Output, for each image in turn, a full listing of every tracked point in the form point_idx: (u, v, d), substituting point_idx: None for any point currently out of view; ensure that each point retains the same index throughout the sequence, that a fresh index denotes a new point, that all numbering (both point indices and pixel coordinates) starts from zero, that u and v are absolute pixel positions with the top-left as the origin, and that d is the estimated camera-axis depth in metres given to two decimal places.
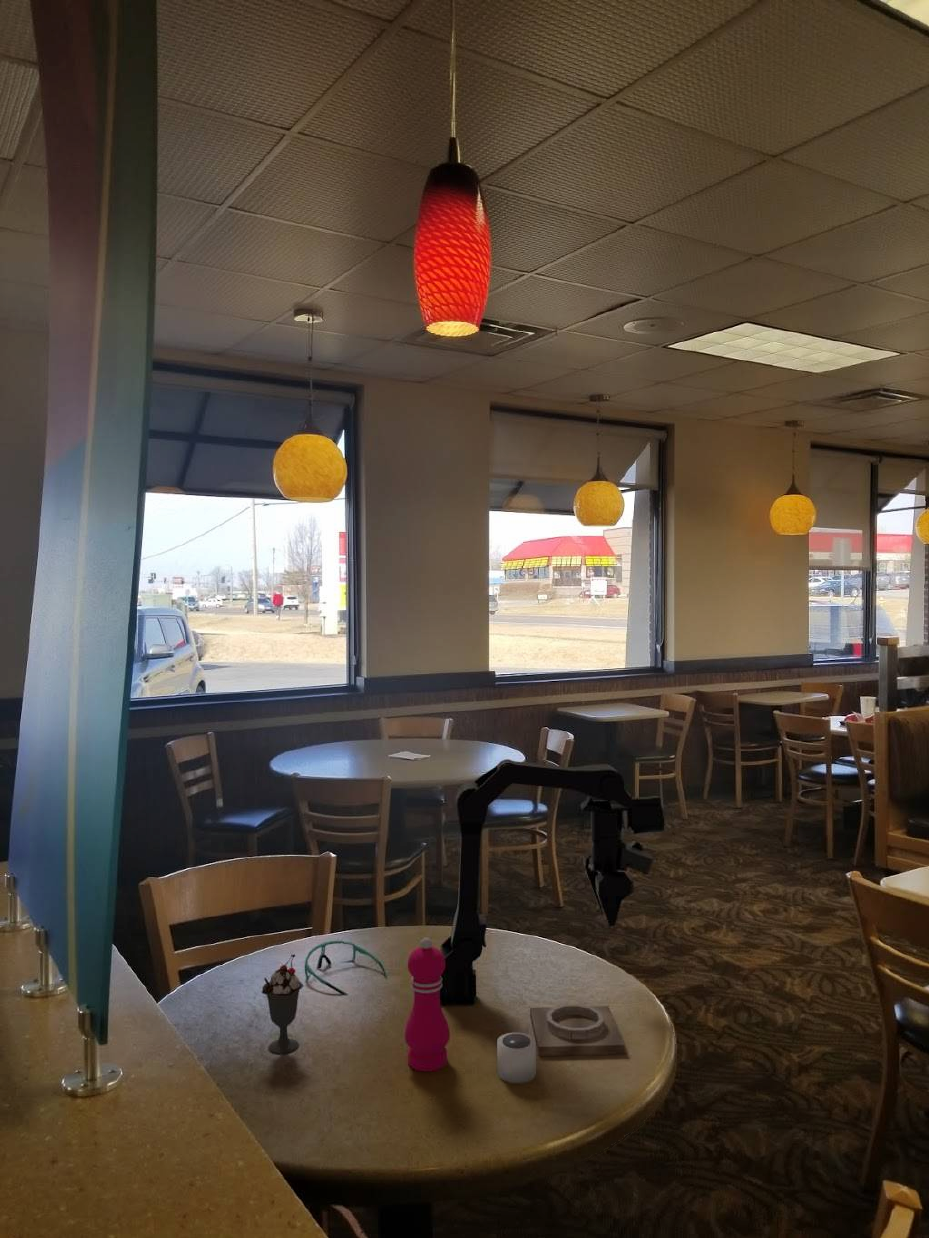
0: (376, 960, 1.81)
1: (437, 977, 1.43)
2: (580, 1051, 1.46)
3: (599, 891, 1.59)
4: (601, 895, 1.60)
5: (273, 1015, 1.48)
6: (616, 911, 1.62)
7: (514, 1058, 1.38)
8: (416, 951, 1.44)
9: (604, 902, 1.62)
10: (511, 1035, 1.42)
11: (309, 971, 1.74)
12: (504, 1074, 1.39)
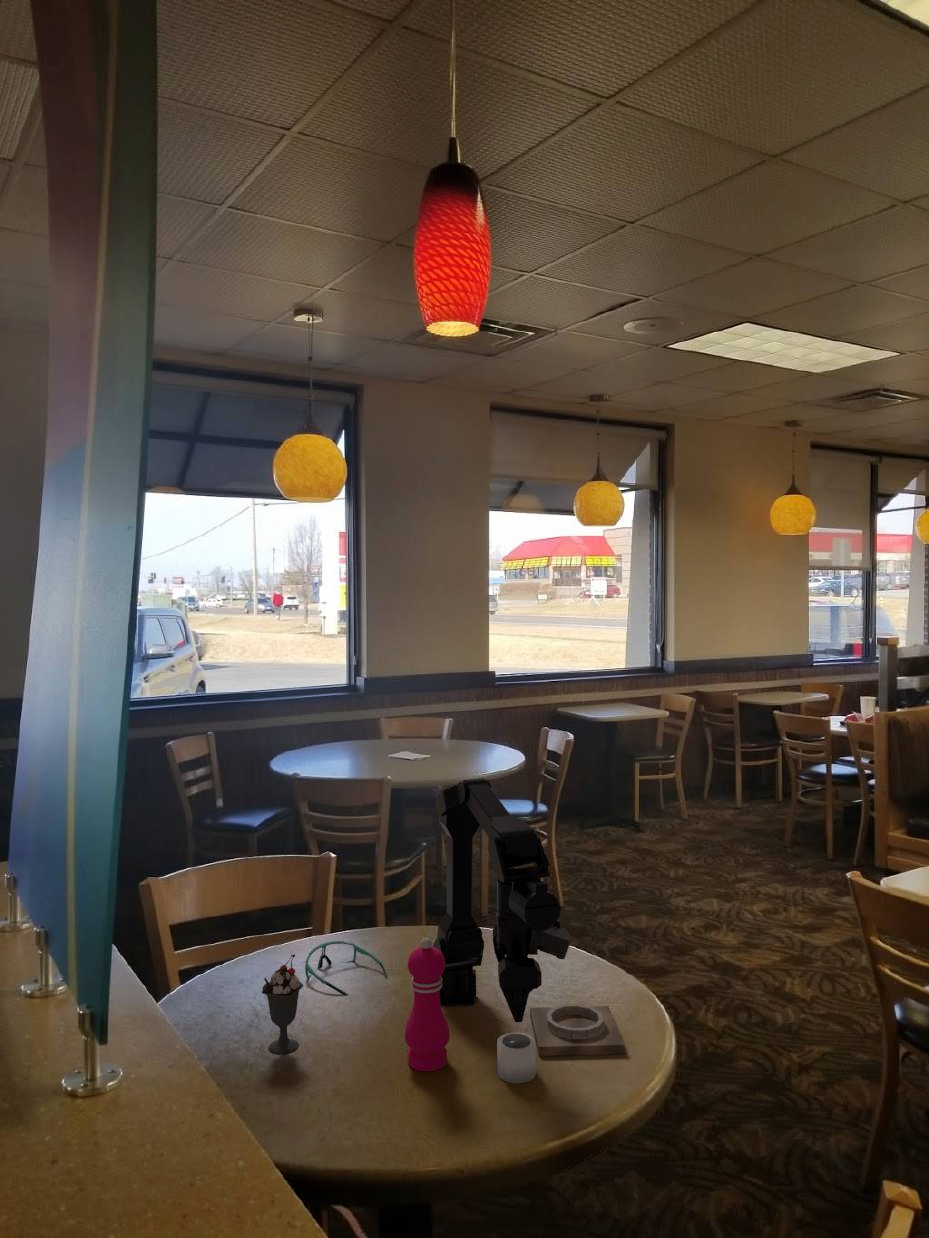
0: (377, 960, 1.81)
1: (437, 977, 1.43)
2: (580, 1051, 1.46)
3: (500, 983, 1.32)
4: (503, 988, 1.33)
5: (273, 1015, 1.48)
6: (523, 1005, 1.35)
7: (514, 1058, 1.38)
8: (416, 951, 1.44)
9: (508, 995, 1.34)
10: (511, 1035, 1.42)
11: (310, 971, 1.74)
12: (504, 1074, 1.39)
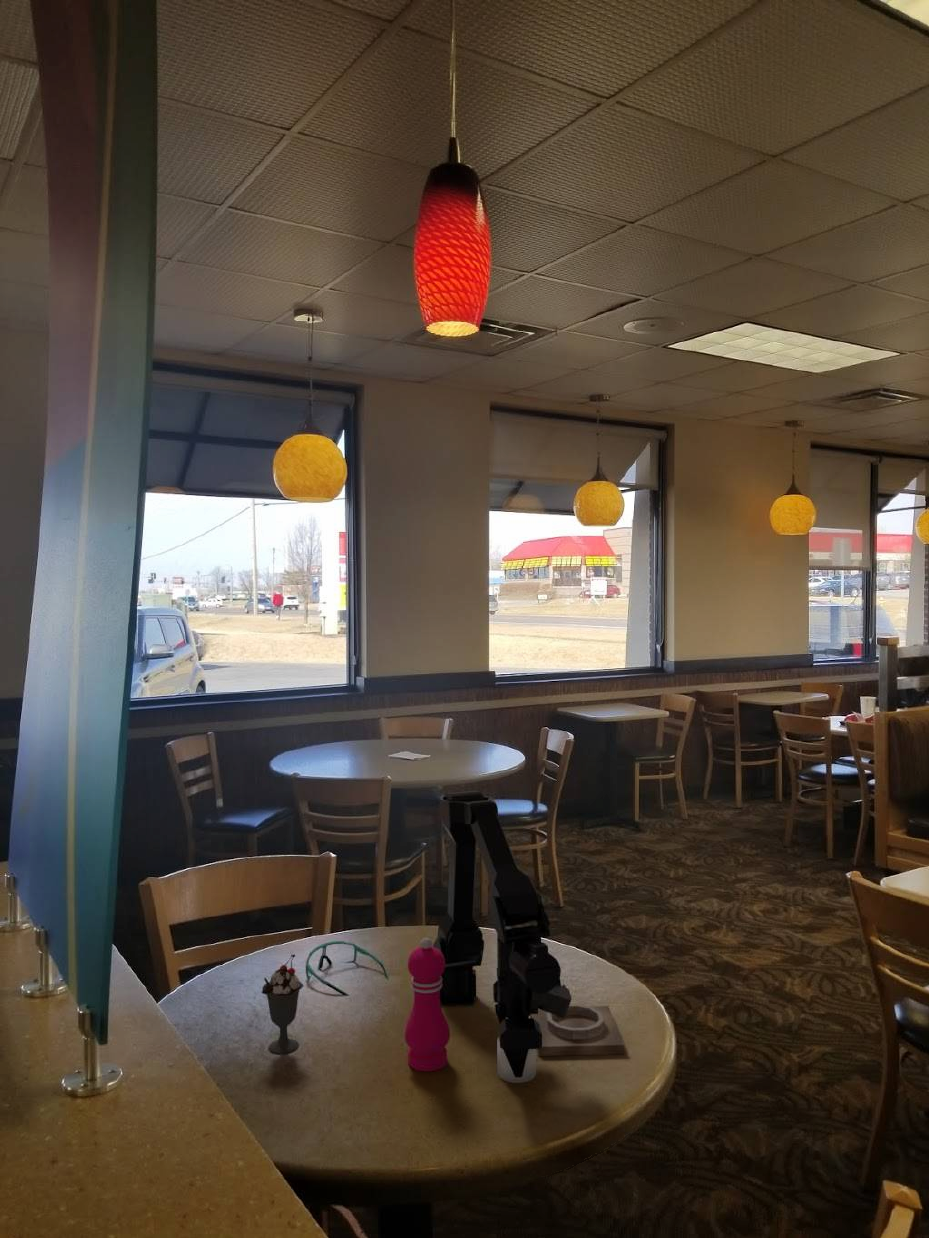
0: (377, 961, 1.81)
1: (437, 977, 1.43)
2: (580, 1051, 1.46)
3: (501, 1045, 1.32)
4: None
5: (273, 1015, 1.48)
6: (523, 1061, 1.37)
7: None
8: (416, 951, 1.44)
9: (508, 1051, 1.36)
10: None
11: (310, 971, 1.74)
12: (504, 1074, 1.39)
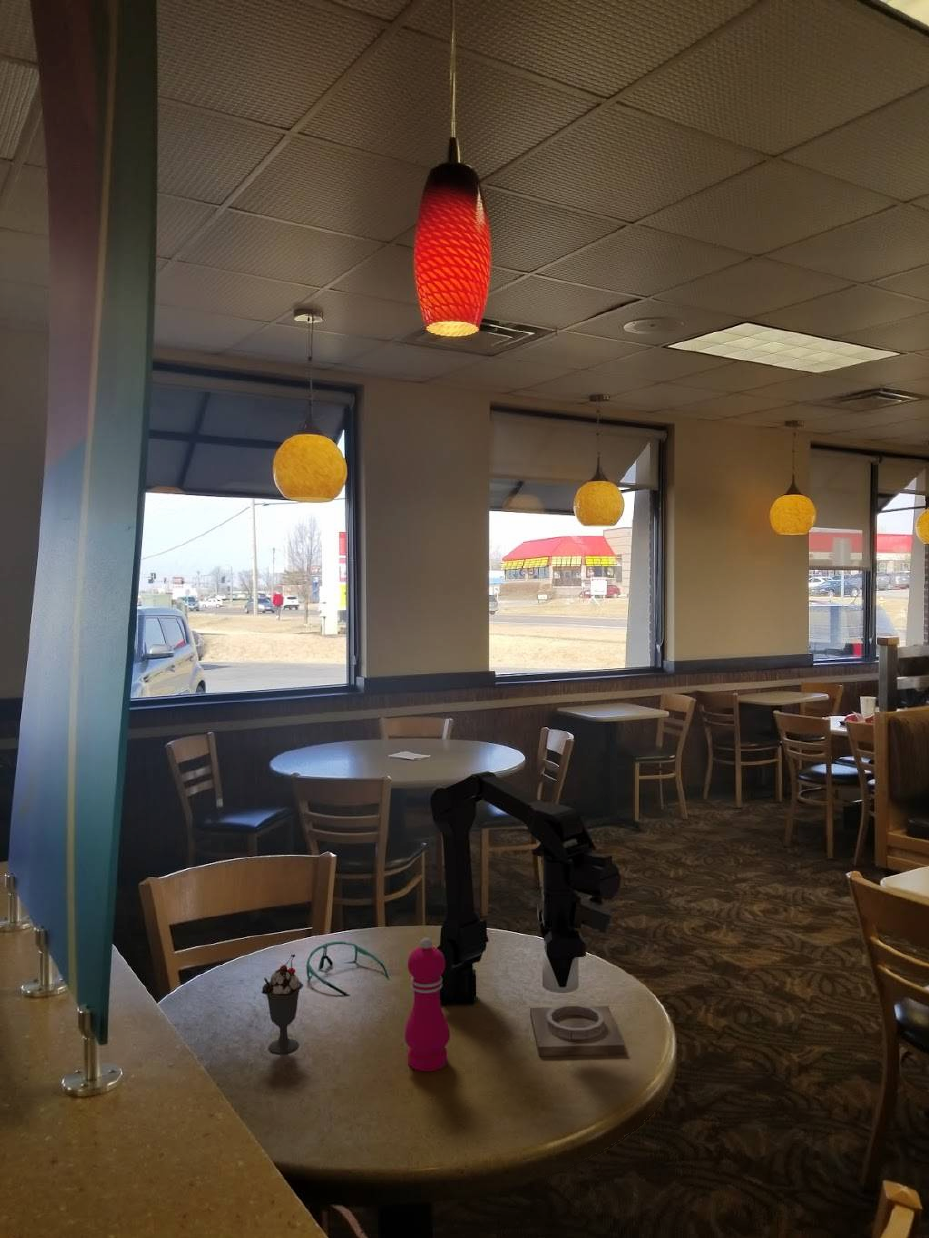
0: (378, 961, 1.81)
1: (437, 977, 1.43)
2: (580, 1051, 1.46)
3: (547, 954, 1.41)
4: None
5: (273, 1015, 1.48)
6: (567, 971, 1.45)
7: None
8: (416, 951, 1.44)
9: (553, 961, 1.45)
10: None
11: (311, 972, 1.74)
12: (549, 984, 1.48)
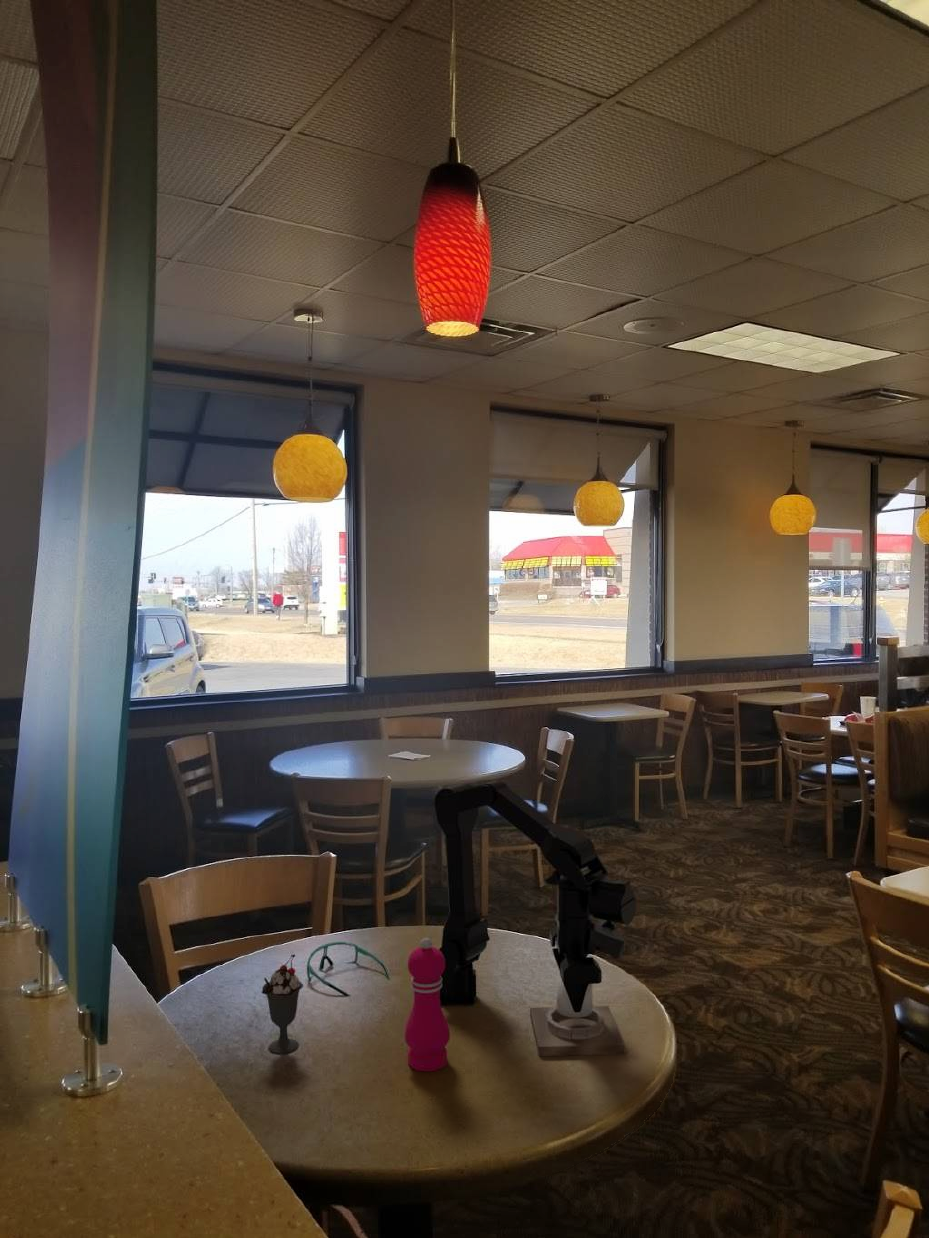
0: (378, 961, 1.81)
1: (437, 977, 1.43)
2: (580, 1051, 1.46)
3: (564, 980, 1.44)
4: None
5: (273, 1015, 1.48)
6: (582, 997, 1.49)
7: None
8: (416, 951, 1.44)
9: (568, 987, 1.48)
10: None
11: (311, 972, 1.74)
12: (564, 1009, 1.51)
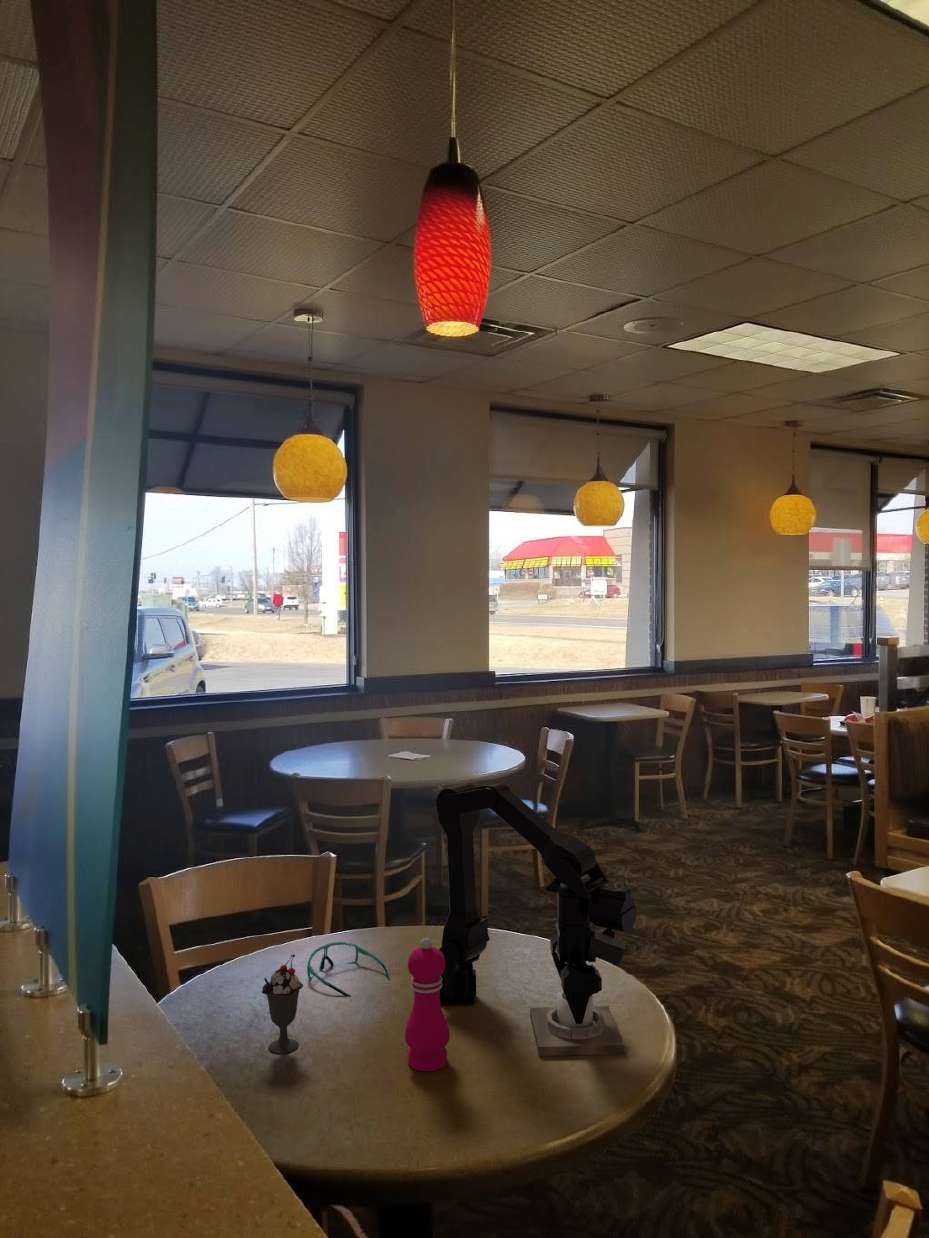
0: (379, 961, 1.81)
1: (437, 977, 1.43)
2: (580, 1051, 1.46)
3: (564, 988, 1.44)
4: (566, 992, 1.45)
5: (273, 1015, 1.48)
6: (583, 1008, 1.47)
7: None
8: (416, 951, 1.44)
9: (570, 999, 1.47)
10: None
11: (312, 972, 1.74)
12: (564, 1025, 1.51)
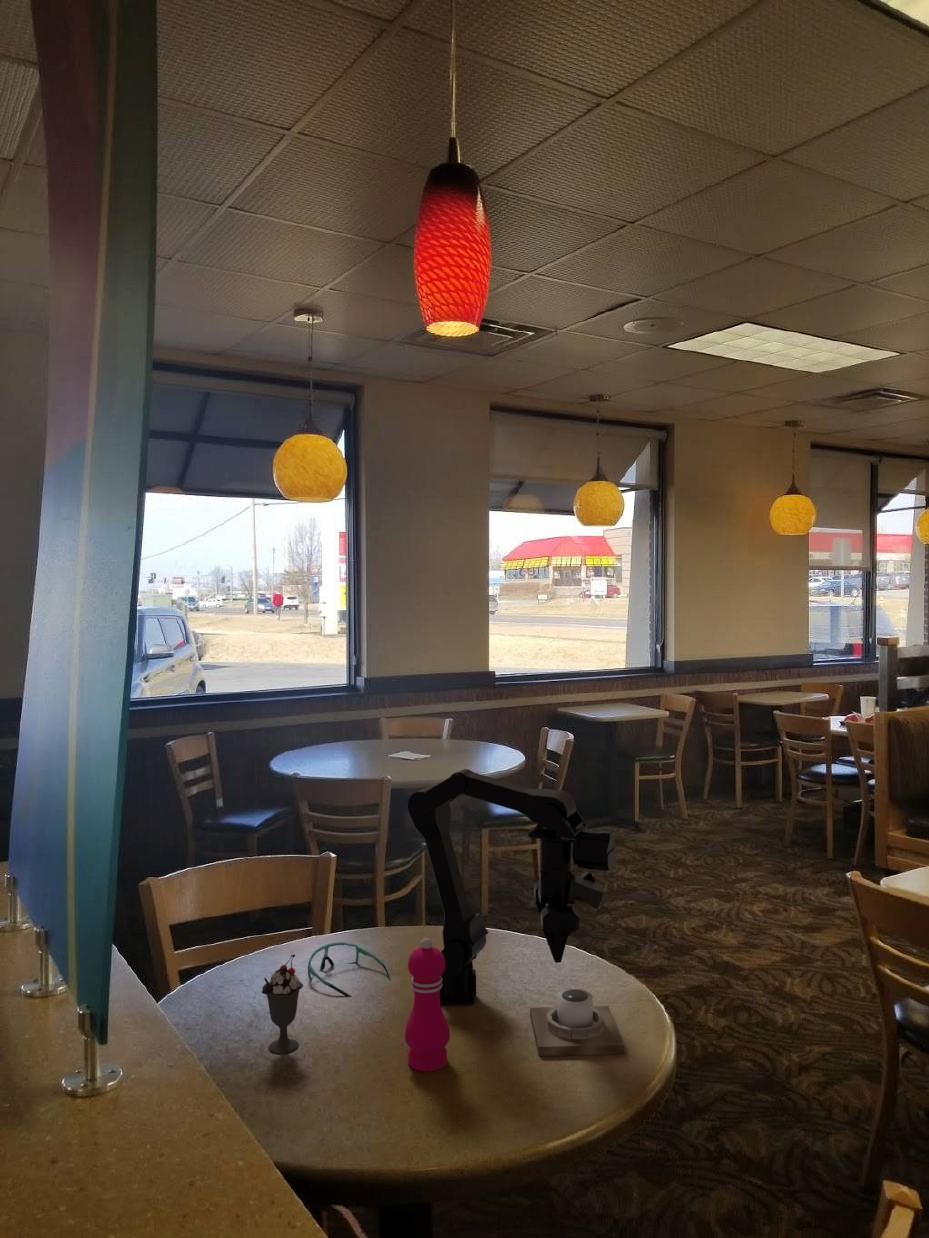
0: (379, 962, 1.81)
1: (437, 977, 1.43)
2: (580, 1051, 1.46)
3: (543, 926, 1.50)
4: (545, 930, 1.51)
5: (273, 1015, 1.48)
6: (562, 947, 1.54)
7: (574, 1011, 1.50)
8: (416, 951, 1.44)
9: (549, 937, 1.53)
10: (569, 991, 1.55)
11: (312, 973, 1.74)
12: (564, 1025, 1.51)
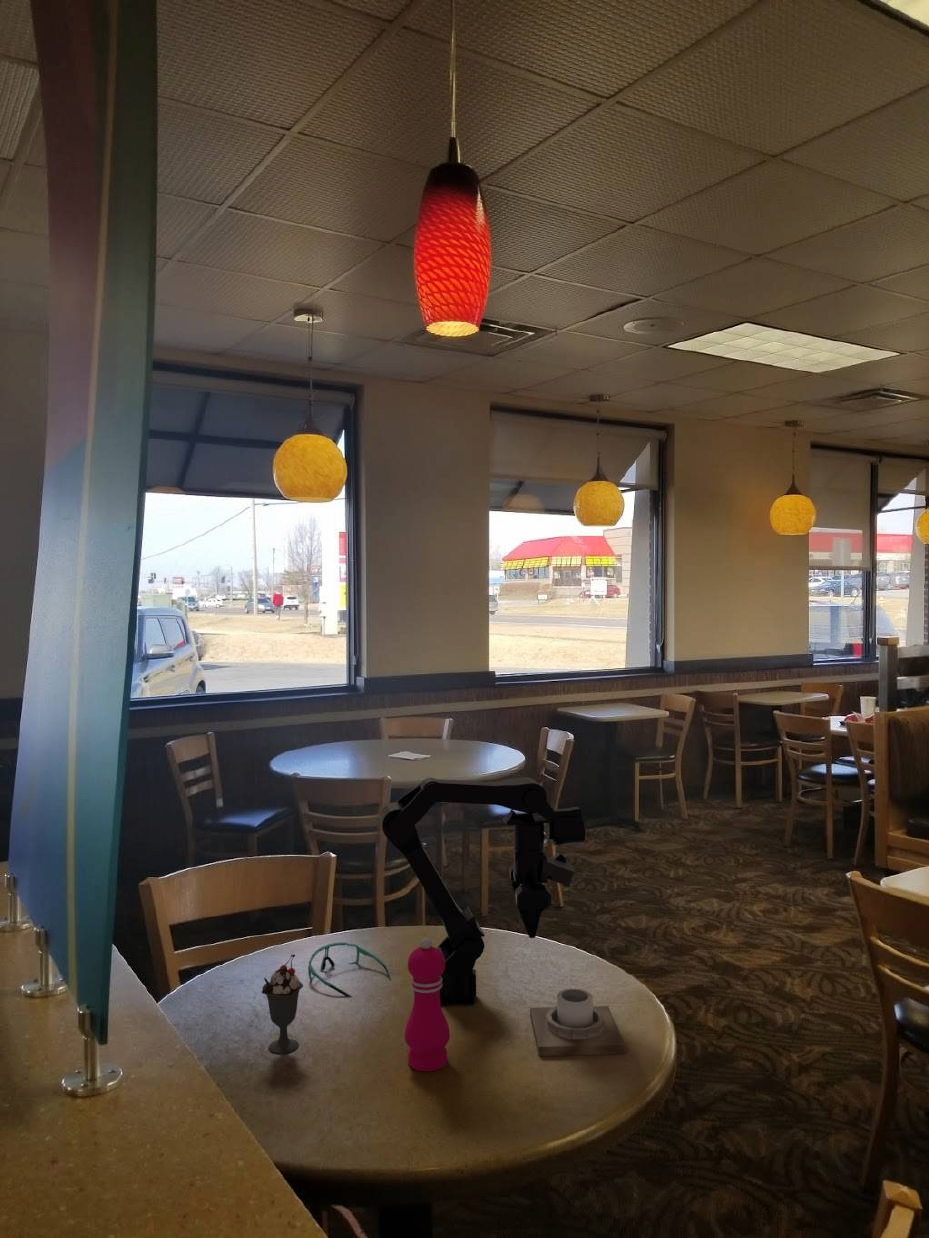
0: (380, 962, 1.80)
1: (437, 977, 1.43)
2: (580, 1051, 1.46)
3: (517, 904, 1.61)
4: (520, 908, 1.62)
5: (273, 1015, 1.48)
6: (536, 923, 1.64)
7: (573, 1011, 1.50)
8: (416, 951, 1.44)
9: (524, 914, 1.63)
10: (569, 991, 1.55)
11: (313, 973, 1.73)
12: (564, 1025, 1.51)
